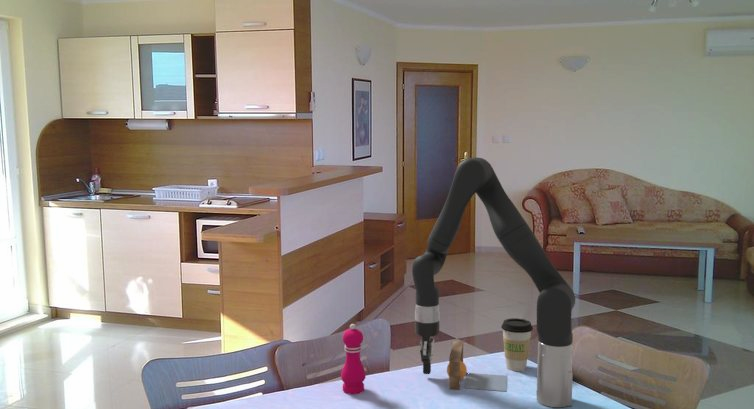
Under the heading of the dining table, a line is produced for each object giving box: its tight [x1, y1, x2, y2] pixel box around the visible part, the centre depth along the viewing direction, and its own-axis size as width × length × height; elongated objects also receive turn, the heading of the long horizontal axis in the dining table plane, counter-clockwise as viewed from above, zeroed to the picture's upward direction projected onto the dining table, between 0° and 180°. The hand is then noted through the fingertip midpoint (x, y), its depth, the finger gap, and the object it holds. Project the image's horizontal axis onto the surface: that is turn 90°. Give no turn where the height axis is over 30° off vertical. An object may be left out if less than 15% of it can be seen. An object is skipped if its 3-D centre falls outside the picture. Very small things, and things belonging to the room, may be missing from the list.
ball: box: [446, 361, 468, 381], centre depth 192 cm, size 6×6×6 cm
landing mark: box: [464, 372, 507, 392], centre depth 190 cm, size 12×12×1 cm
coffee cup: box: [501, 317, 533, 372], centre depth 201 cm, size 10×10×15 cm
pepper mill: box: [340, 323, 367, 395], centre depth 184 cm, size 7×7×20 cm
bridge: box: [448, 340, 464, 391], centre depth 191 cm, size 3×15×10 cm, turn 168°
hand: (426, 373), depth 194 cm, fingers closed
